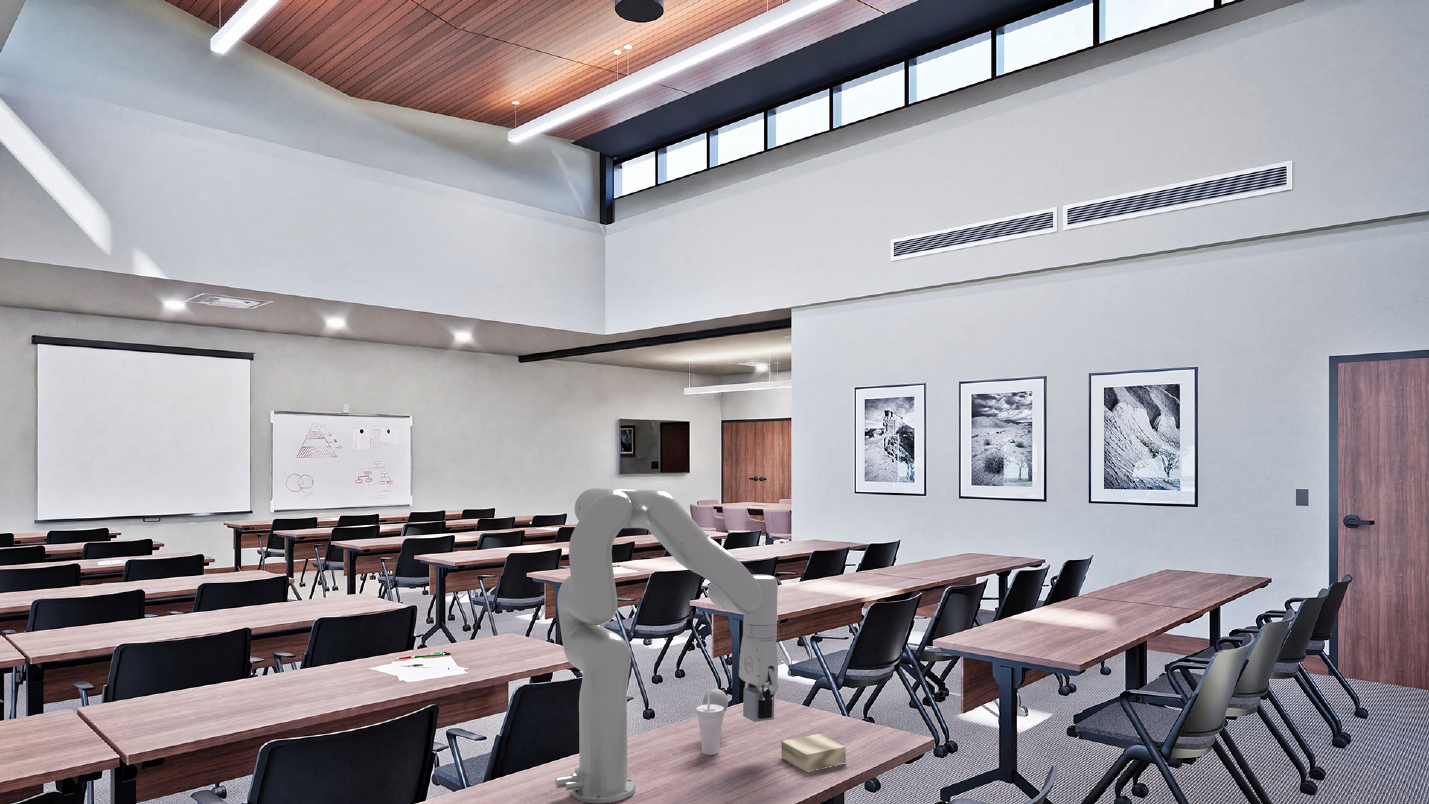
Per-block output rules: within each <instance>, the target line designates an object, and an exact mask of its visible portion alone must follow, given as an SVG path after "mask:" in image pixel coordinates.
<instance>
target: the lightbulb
mask: <svg viewBox="0 0 1429 804" xmlns="http://www.w3.org/2000/svg"><path fill="white" fill-rule="evenodd" d="M707 704H708V694H707V692H706V693H705V694H704V696H703V698H702V705H707ZM710 704H715V705H720V706H722V707H724V714H723V716H722V722H724V721H723V720H724V716H725V714H726V711H727V708H728V707H729V697H728V695H727V694H726V692H724V691H723V690H721V689H719V688H710Z"/></svg>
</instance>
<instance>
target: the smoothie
mask: <svg viewBox="0 0 1429 804" xmlns="http://www.w3.org/2000/svg"><path fill="white" fill-rule="evenodd" d="M710 690H711V688H707V692H706V693H707V694H708V704H707V705H703V704H701V705H698V706H697V707H696V708H695V713H696V715H697V720H698V727H699V737H700V743H701V752H702V754H704V755H707V756H712V755H717V754H719V751H720V744H721V735H722V726H723V721H722V716H723V714H724V715H725V713H724V707H722V706H720V705H715V704H710ZM723 717H724V716H723Z"/></svg>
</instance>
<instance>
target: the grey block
mask: <svg viewBox="0 0 1429 804" xmlns="http://www.w3.org/2000/svg"><path fill="white" fill-rule="evenodd" d="M767 689H768V688H764V693H765V691H766V690H767ZM758 700H761V699H760V691H759V687H752V688H745V687H744V688H743V699H742V701H743V707H742V709H743V710H742V712H743V713H742V716H743V717H744V718H746V719H748V720H749V721H752V722H753V723H756V722H757V723H758V722H764V721H765V722H766V721H772V720H773V721H774V720H775V697H774V698H773V700H772V717H771V718H765V719H759V718H758Z"/></svg>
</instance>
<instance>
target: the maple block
mask: <svg viewBox="0 0 1429 804" xmlns="http://www.w3.org/2000/svg"><path fill="white" fill-rule="evenodd" d="M780 742H781V744H780V745H781V759H783V760H784V759H785V760H784V761H786V760H787V762H788V763H789V764H791V763H792V765H793V766H795V767H796V766H797V768H798V767H799V768H798V769H800V770H802V769H803V770H804V771H803V770H802V771H803V772H805V771H806V772H805V773H807V772H808V773H810V772H809V771H812V772H814V771H813V770H816V769H821V770H823V769H822V768H825V767H829V766H835V765H838V764H841V763H846V762H847V761H846V760H847V759H846V758H847V757H846V746H845V745H843V744H840V743H839V742H836V741H835V740H832V739H831V738H829V737H826V736H824V735H823V734H821V733H816V734H811V735H806V736H802V737H801V736H800V737H796V738H790V739H785V740H781V741H780ZM846 764H847V763H846ZM835 767H836V766H835Z"/></svg>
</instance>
